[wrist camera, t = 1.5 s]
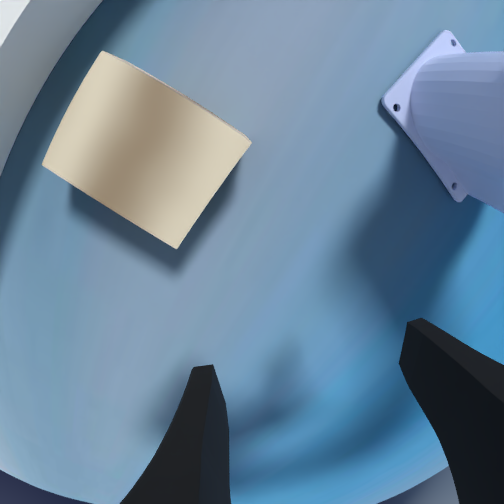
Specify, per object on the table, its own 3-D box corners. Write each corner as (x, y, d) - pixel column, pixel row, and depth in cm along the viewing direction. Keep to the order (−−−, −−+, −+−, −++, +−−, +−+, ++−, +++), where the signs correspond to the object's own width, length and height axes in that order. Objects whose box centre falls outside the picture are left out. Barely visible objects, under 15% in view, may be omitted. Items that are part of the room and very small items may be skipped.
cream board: (186, -79, 10) (176, -134, 4) (-16, 226, 17) (-66, 265, 11) (156, -91, 9) (138, -142, 4) (-36, 208, 16) (-87, 242, 10)
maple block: (245, 135, 17) (252, 142, 13) (185, 220, 18) (176, 249, 15) (127, 61, 14) (102, 50, 10) (74, 151, 16) (41, 164, 12)
